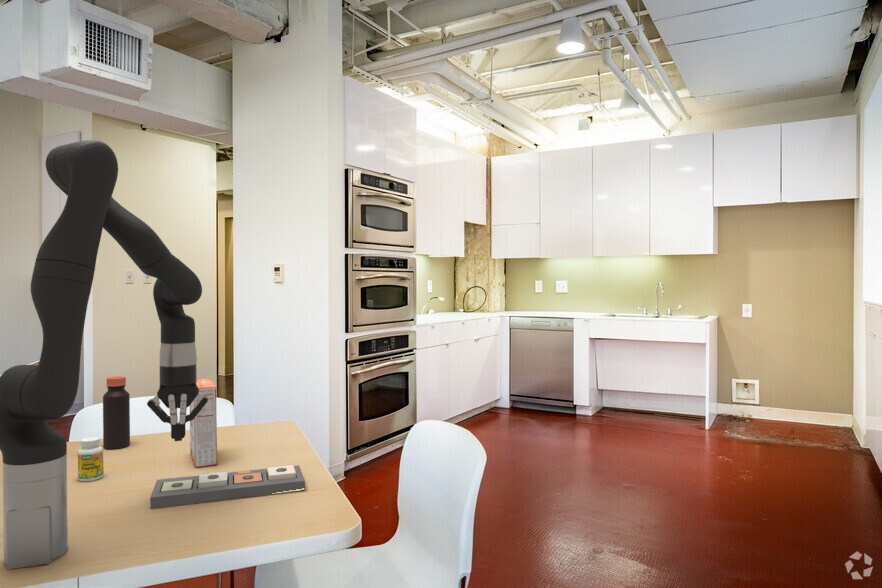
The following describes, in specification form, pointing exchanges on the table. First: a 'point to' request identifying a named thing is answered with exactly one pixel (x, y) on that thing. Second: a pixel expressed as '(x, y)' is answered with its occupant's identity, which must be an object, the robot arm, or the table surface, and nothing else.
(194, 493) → the grey flat board
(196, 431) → the cracker box
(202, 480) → the key white
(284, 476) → the key cream
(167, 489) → the key sage
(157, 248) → the robot arm
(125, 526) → the table surface
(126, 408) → the vinegar
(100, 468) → the supplement bottle
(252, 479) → the key terracotta
